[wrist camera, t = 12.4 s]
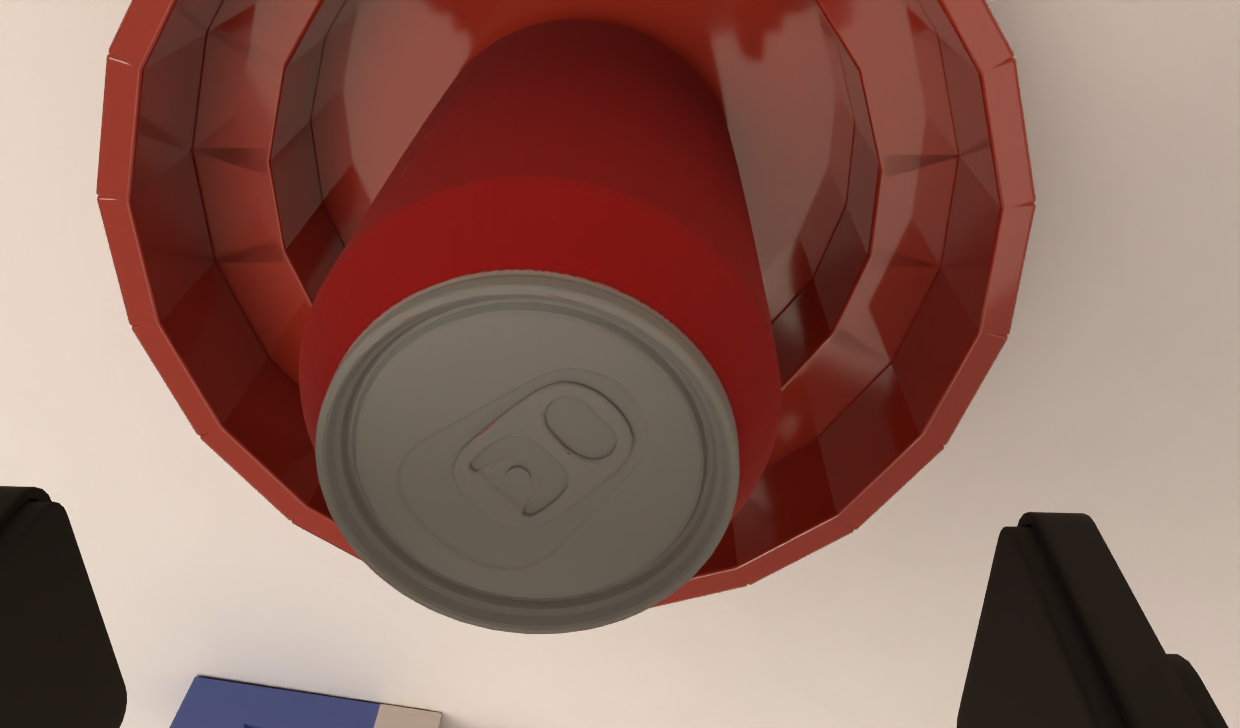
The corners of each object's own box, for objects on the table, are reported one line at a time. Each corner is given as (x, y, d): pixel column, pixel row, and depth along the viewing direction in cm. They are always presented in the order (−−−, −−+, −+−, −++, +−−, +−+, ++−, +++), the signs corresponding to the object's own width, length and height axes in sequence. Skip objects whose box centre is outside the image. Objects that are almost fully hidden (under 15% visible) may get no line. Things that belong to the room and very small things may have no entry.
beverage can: (370, 153, 24) (147, 458, 13) (588, -63, 21) (527, 100, 11) (577, 350, 26) (526, 741, 16) (795, 175, 24) (908, 498, 13)
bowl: (161, -253, 21) (-26, -261, 15) (998, -256, 20) (1133, -265, 14) (290, 439, 29) (201, 606, 23) (892, 447, 28) (952, 619, 22)
